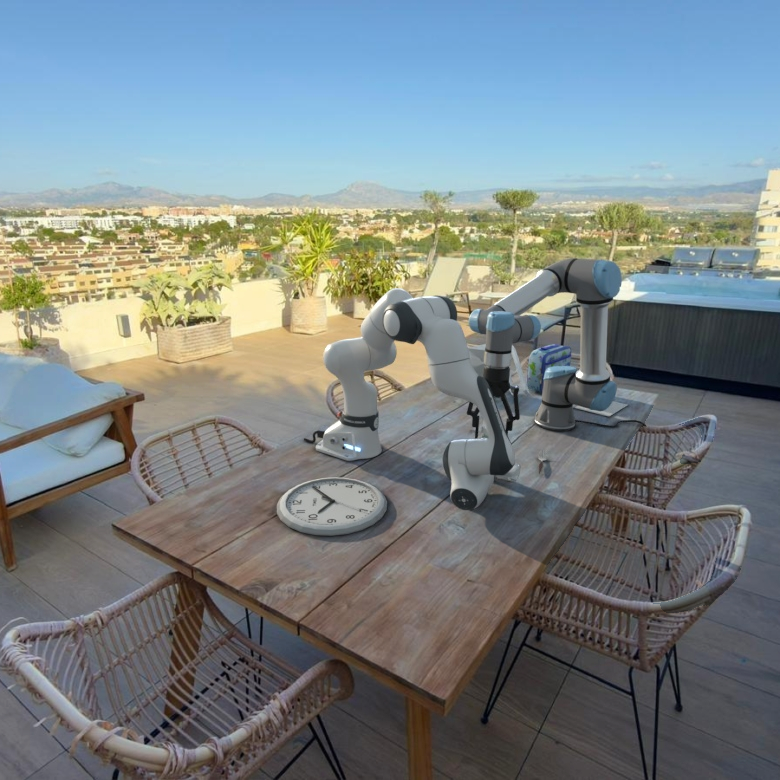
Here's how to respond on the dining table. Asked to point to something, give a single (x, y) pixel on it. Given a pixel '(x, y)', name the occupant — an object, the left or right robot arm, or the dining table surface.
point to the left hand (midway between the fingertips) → (490, 456)
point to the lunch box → (545, 363)
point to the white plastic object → (478, 364)
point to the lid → (484, 430)
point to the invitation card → (609, 411)
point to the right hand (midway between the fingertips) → (491, 438)
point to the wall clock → (331, 506)
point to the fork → (542, 460)
